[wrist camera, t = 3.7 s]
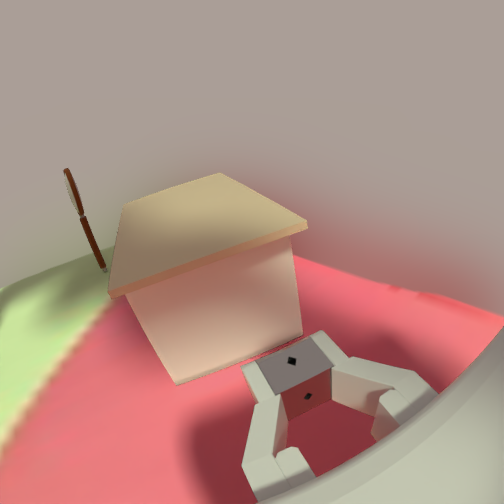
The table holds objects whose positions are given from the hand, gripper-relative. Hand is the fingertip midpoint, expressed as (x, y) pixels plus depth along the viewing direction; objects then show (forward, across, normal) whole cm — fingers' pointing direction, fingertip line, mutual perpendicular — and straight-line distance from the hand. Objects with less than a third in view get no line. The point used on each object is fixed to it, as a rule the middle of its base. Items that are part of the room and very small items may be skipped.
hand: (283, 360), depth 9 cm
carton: (+22, 0, +13) cm, 26 cm away
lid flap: (+21, 0, +1) cm, 21 cm away
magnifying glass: (+43, +16, +13) cm, 48 cm away
